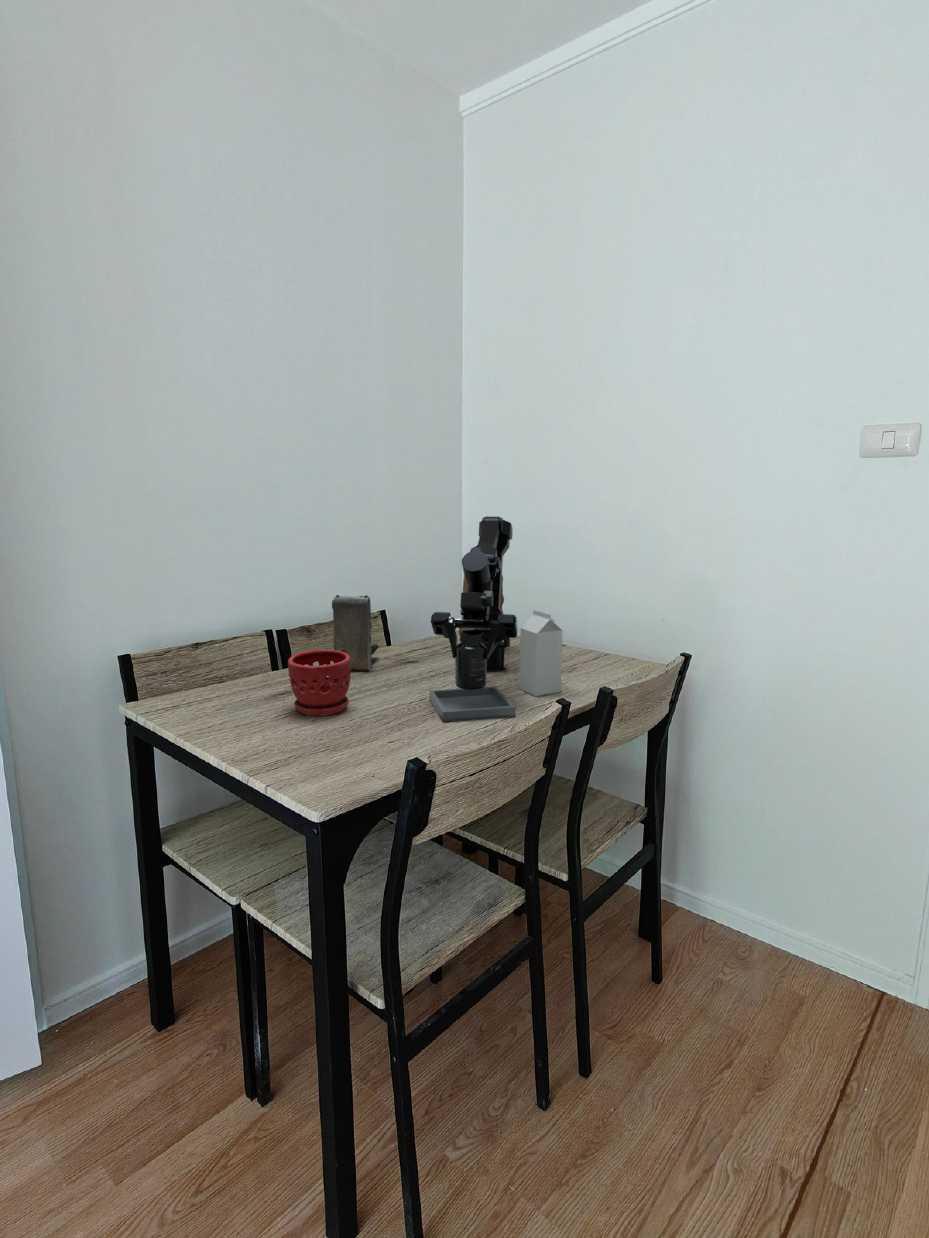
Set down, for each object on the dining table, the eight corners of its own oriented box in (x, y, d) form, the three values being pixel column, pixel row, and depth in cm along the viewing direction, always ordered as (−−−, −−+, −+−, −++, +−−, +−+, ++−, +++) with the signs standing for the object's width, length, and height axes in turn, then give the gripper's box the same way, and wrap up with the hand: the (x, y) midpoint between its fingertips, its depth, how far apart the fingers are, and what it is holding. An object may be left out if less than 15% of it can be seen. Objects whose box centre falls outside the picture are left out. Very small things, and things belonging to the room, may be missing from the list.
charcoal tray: (495, 695, 167) (495, 686, 166) (515, 716, 152) (515, 706, 151) (429, 699, 163) (429, 690, 163) (442, 722, 148) (442, 712, 148)
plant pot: (286, 704, 160) (283, 652, 157) (344, 698, 165) (343, 647, 162) (295, 723, 148) (292, 666, 146) (358, 715, 153) (356, 660, 150)
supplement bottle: (448, 684, 158) (449, 631, 155) (474, 679, 161) (474, 627, 159) (467, 692, 152) (467, 637, 150) (492, 686, 156) (493, 633, 154)
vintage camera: (382, 659, 201) (380, 588, 198) (370, 672, 186) (367, 596, 183) (348, 659, 202) (346, 589, 199) (333, 671, 187) (330, 596, 184)
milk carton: (535, 697, 166) (537, 616, 162) (519, 689, 172) (520, 611, 168) (560, 692, 169) (563, 613, 165) (544, 685, 175) (545, 608, 171)
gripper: (432, 576, 157) (421, 636, 149) (517, 578, 154) (510, 640, 146) (439, 604, 167) (429, 663, 158) (520, 607, 163) (514, 667, 155)
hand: (470, 657), depth 154 cm, fingers closed on supplement bottle, 7 cm apart
